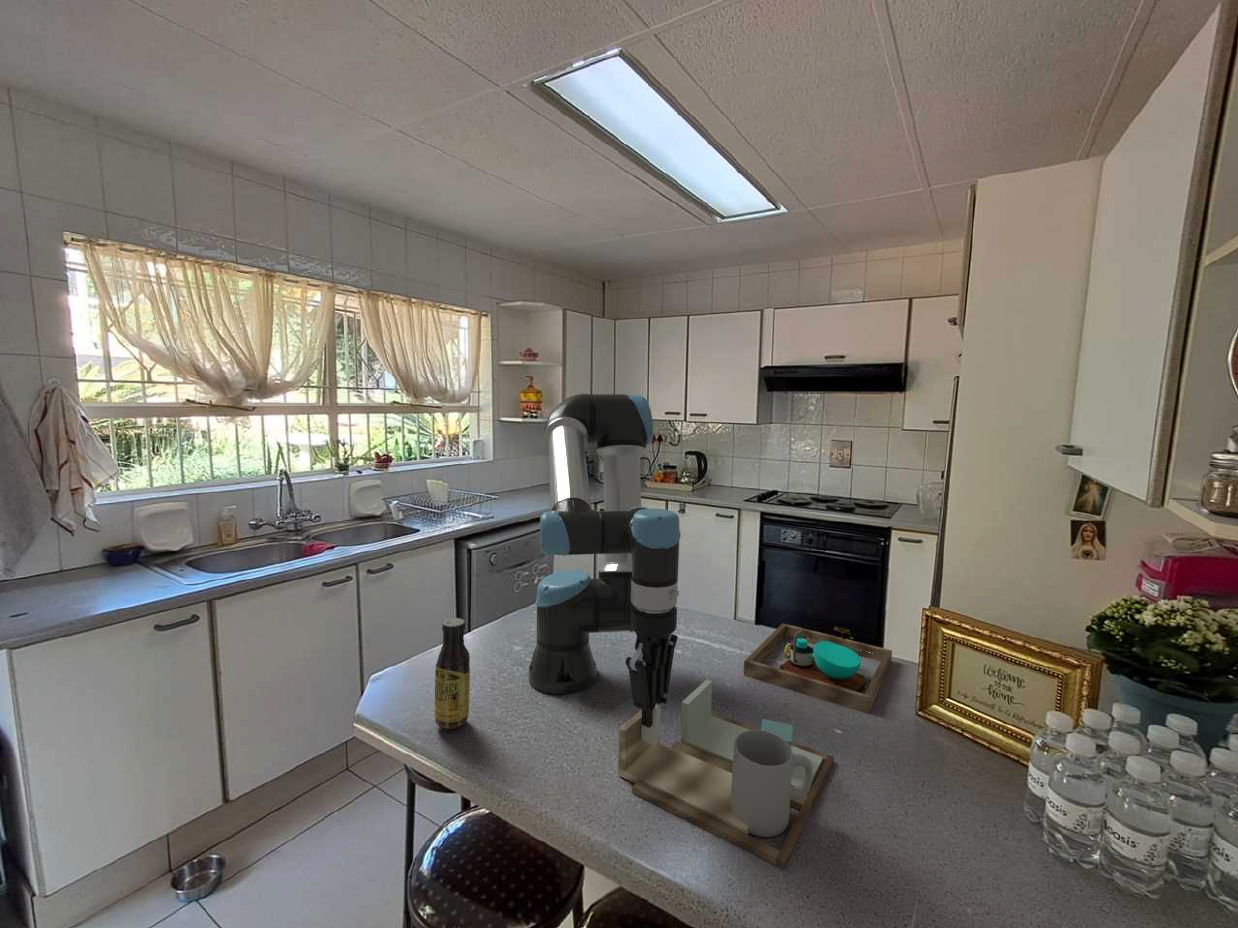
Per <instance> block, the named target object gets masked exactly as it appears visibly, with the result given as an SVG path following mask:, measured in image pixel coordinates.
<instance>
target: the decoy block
mask: <svg viewBox="0 0 1238 928" xmlns="http://www.w3.org/2000/svg"><path fill="white" fill-rule="evenodd" d="M793 727H794V725H793V724H789V723H784V722H779V721H775V720H770V719H765V718H762V721H761V727H760V730H762V731H767V732H770V733H773V734H776V735H778V736H779V737H781V738H783V739H784V740H785V741H786V742H787V743H788V744H789V745H790V747H791V745H792V742H793Z"/></svg>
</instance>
